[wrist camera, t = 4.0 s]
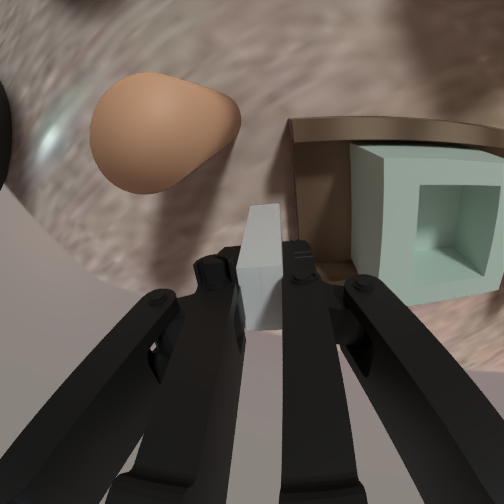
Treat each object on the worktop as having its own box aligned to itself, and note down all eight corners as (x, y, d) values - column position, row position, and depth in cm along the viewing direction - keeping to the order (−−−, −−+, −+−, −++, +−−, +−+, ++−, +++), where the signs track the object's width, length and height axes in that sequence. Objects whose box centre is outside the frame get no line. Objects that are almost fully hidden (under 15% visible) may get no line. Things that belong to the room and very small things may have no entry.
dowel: (186, 153, 19) (103, 202, 9) (177, 97, 17) (82, 93, 8) (244, 145, 19) (212, 185, 9) (236, 87, 17) (193, 58, 7)
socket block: (350, 257, 20) (374, 310, 14) (349, 142, 16) (383, 158, 11) (456, 247, 19) (498, 289, 13) (466, 146, 15) (522, 165, 10)
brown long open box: (300, 268, 23) (309, 342, 15) (288, 118, 18) (298, 122, 11) (535, 244, 20) (581, 284, 12) (549, 140, 15) (606, 162, 8)
